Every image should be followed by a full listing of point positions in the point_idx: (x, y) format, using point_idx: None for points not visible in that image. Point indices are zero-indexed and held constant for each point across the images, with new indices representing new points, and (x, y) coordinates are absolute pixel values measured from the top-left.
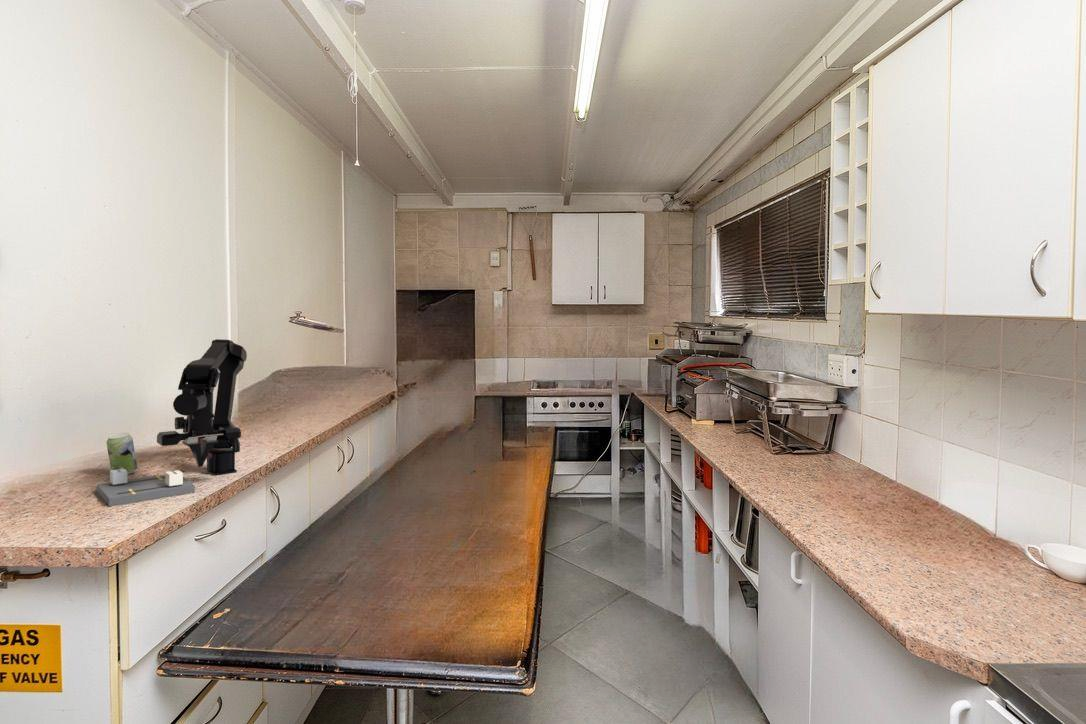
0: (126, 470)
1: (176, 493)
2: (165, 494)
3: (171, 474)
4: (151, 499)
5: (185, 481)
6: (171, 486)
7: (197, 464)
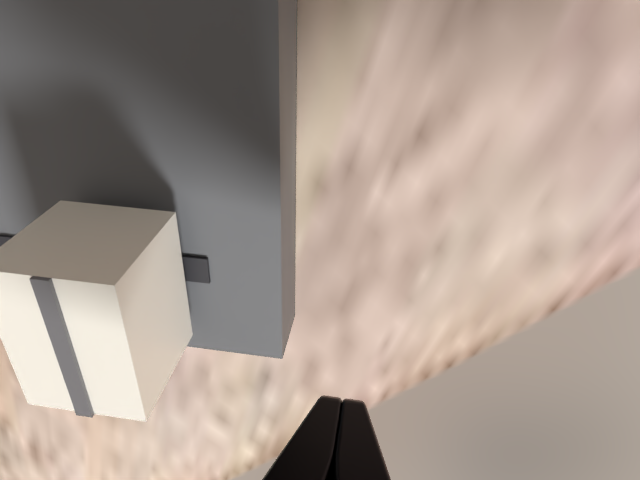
0: None
1: None
2: None
3: (45, 403)
4: None
5: (249, 198)
6: None
7: (308, 422)
